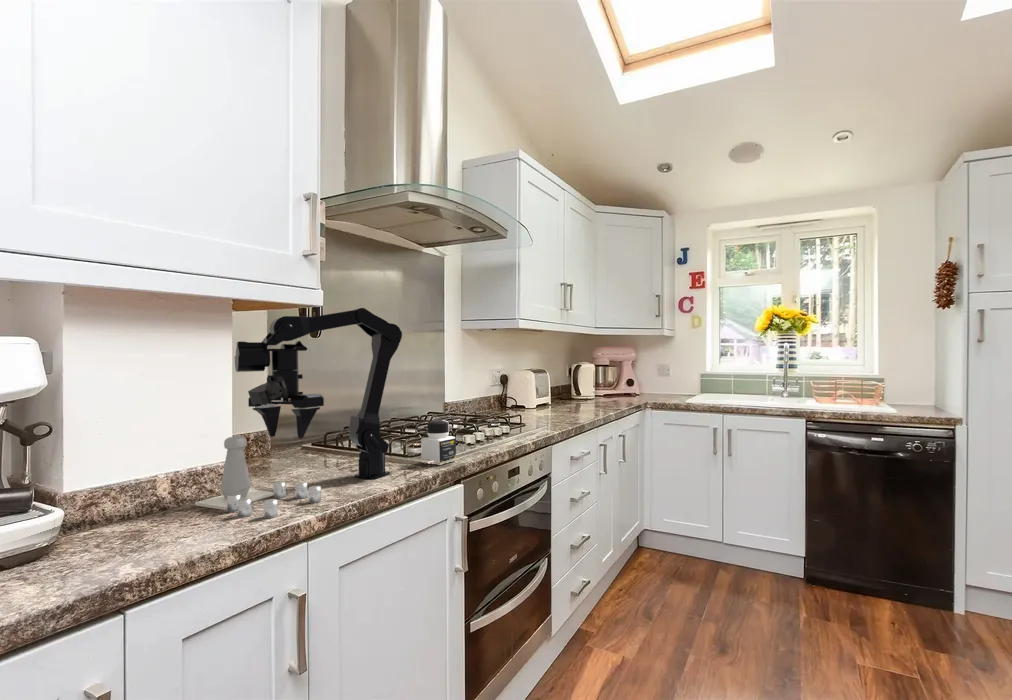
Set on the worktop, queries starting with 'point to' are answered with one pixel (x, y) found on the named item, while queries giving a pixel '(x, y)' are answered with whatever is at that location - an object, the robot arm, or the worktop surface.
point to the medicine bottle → (438, 442)
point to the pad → (222, 502)
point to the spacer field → (272, 504)
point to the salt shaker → (235, 468)
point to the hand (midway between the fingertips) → (286, 437)
